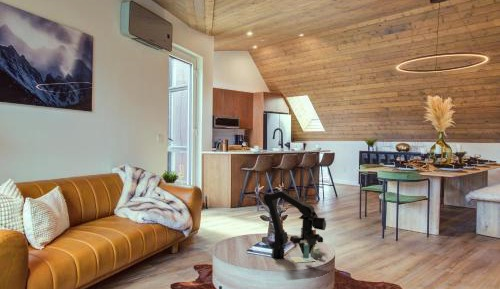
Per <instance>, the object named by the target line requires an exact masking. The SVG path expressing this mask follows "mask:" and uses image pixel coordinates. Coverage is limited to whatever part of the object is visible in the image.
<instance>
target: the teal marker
mask: <svg viewBox="0 0 500 289" xmlns="http://www.w3.org/2000/svg"><path fill="white" fill-rule="evenodd" d="M302 257H303V258H306V259H307V258H309V257H310V254H309V245H308V243H305V245H304V254H302Z"/></svg>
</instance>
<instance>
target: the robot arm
mask: <svg viewBox="0 0 500 289" xmlns="http://www.w3.org/2000/svg"><path fill="white" fill-rule="evenodd" d="M279 199H281V200H283V201H285V202H287V203H288V204H290V205H291V206H293V207H294V208H296V209H297V210H298V211H299V213H300V214H301V216H300V217H299V219H300V220H302V224H301V226H302V227H300V231H301V230H302V235H301V234H300V236H297V235H291V236H290V237H289V236H288V232H287V231H284V230H283V227H282V226H283V225H282V222H281V219H280V215H279V211H278V208H277V204H278V200H279ZM263 201H264V204H265V206H267V208H268V210H269V214H270V218H271V221H272V225H273V229H274V236H273V237H274V238H273V240H274V241H273V242H272V243H271V244H270V247H271V249H272V250H271V255H270V257H271V258H272V259H273V260H282V259H284V260H285V246H286V244H287V243H288V242H289V241H290V242H291V243H292V244H298V246H299V248H300V251H301V254H302V255H303V254H304V245H305V244H304V241H308V245H309V255H311V252H312V250H313V249H312V247H313V246H314V245H315V246H316V244H318V243H323V242H324V238H323V236H321V235H320V234H319V233H316V234H314V233H313V230H312V228H313V229H316V230H320V231H326V227H327V222H326V218H325V217H318V214H317V213H316V211H315V207H314V206H313V205H311V204H309V203H308V202H307V203H305V202H302V201H301V200H299V199H298V198H296V197H294V196H292V195H291V194H290V193H287V192H286V191H285V190H281V191H278V192H270V193H266V194H264V196H263ZM301 237H302V238H301Z"/></svg>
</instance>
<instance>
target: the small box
mask: <svg viewBox="0 0 500 289" xmlns="http://www.w3.org/2000/svg"><path fill="white" fill-rule="evenodd" d="M312 230H313V233H314V234H317V229H314V227H312ZM301 235H302V230H301V229H300V238H302V237H301ZM305 243H308V241H304V244H305ZM314 247H316V244H315V245H314V246H313V247H312V250H314Z"/></svg>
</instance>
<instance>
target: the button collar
mask: <svg viewBox="0 0 500 289" xmlns="http://www.w3.org/2000/svg"><path fill="white" fill-rule="evenodd" d="M313 253H314V251H313V252H312V251H311V252H310V257H311V258H312V259H313V260H319V259H318V258H322V259H323V254H321V252H319V255H314V254H313Z"/></svg>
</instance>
